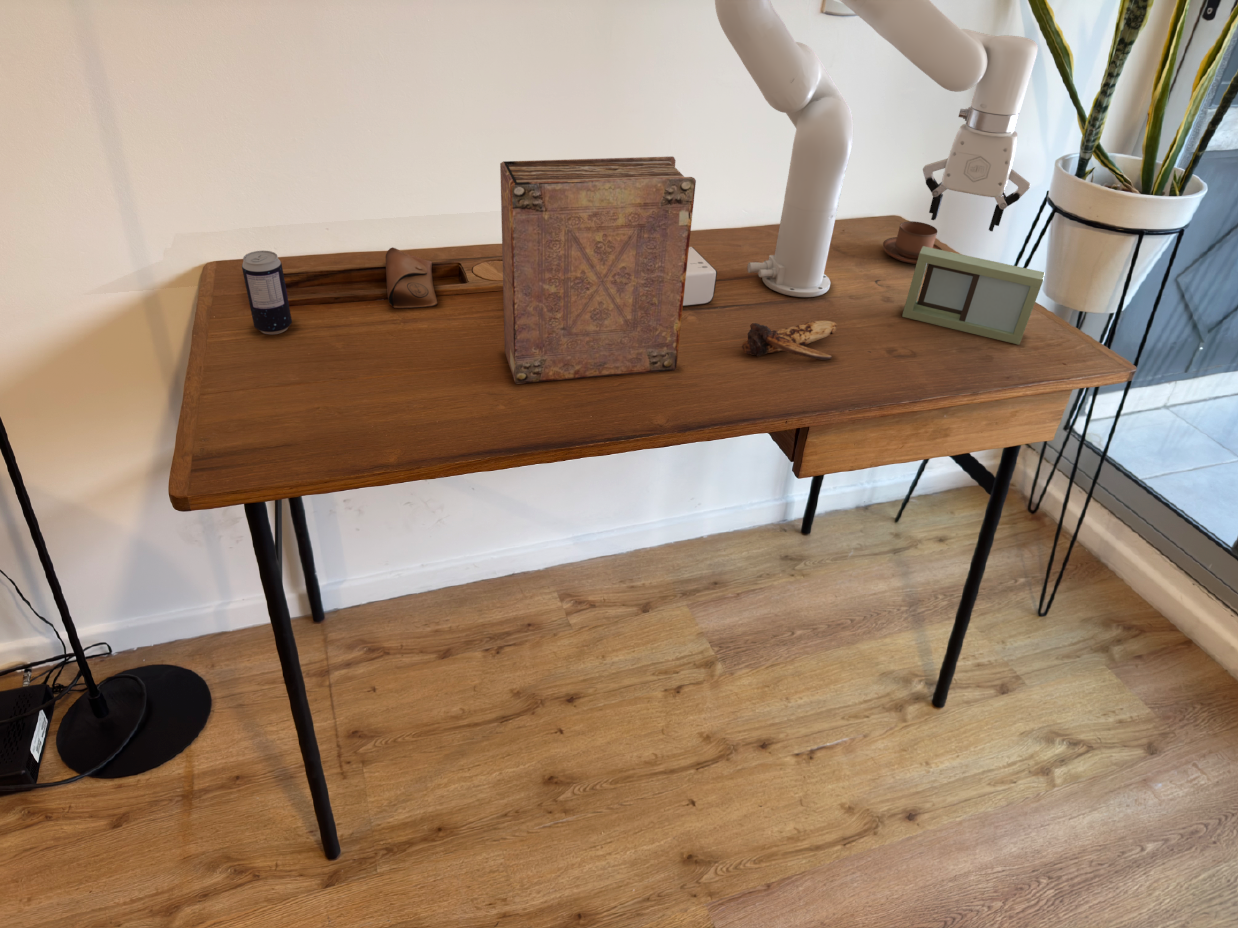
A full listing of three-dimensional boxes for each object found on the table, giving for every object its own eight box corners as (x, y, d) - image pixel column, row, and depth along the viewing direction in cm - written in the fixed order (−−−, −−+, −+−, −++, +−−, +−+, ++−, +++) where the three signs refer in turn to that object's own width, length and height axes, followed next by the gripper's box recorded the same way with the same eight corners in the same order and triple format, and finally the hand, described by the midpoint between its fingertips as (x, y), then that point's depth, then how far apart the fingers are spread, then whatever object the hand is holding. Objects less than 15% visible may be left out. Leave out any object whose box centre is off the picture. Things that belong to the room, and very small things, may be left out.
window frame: (901, 316, 157) (919, 253, 150) (905, 308, 160) (922, 246, 152) (1019, 345, 151) (1043, 280, 144) (1020, 336, 153) (1044, 272, 146)
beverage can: (300, 325, 141) (288, 254, 134) (275, 340, 137) (261, 267, 130) (272, 317, 143) (259, 246, 136) (246, 331, 139) (231, 259, 131)
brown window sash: (916, 305, 157) (929, 261, 152) (923, 290, 162) (935, 247, 157) (968, 317, 154) (983, 273, 149) (973, 301, 160) (987, 258, 155)
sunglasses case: (440, 304, 149) (417, 273, 145) (406, 325, 150) (382, 295, 145) (432, 260, 163) (411, 231, 159) (400, 280, 164) (378, 251, 159)
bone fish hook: (763, 377, 138) (855, 355, 144) (768, 351, 135) (862, 330, 141) (732, 347, 144) (821, 328, 151) (736, 322, 141) (827, 303, 148)
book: (658, 342, 144) (676, 156, 126) (676, 370, 137) (698, 178, 119) (503, 354, 137) (500, 161, 120) (514, 385, 130) (511, 184, 113)
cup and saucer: (878, 242, 185) (885, 214, 181) (936, 249, 184) (944, 220, 180) (883, 265, 175) (891, 236, 171) (945, 272, 174) (954, 243, 170)
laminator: (526, 323, 146) (526, 289, 142) (509, 292, 155) (508, 259, 152) (713, 303, 156) (717, 271, 153) (686, 275, 166) (689, 243, 162)
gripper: (933, 118, 143) (908, 220, 153) (1046, 135, 137) (1012, 240, 147) (940, 107, 148) (915, 207, 158) (1049, 124, 143) (1016, 226, 153)
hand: (962, 223), depth 153 cm, fingers open, 9 cm apart
